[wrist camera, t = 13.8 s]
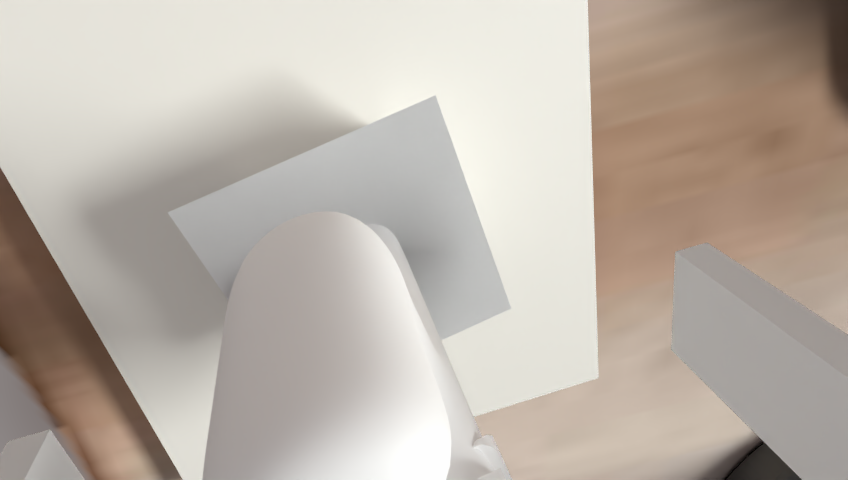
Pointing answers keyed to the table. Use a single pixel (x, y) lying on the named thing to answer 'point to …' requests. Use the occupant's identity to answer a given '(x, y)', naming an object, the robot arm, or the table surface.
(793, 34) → the table surface
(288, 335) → the figurine
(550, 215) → the board
